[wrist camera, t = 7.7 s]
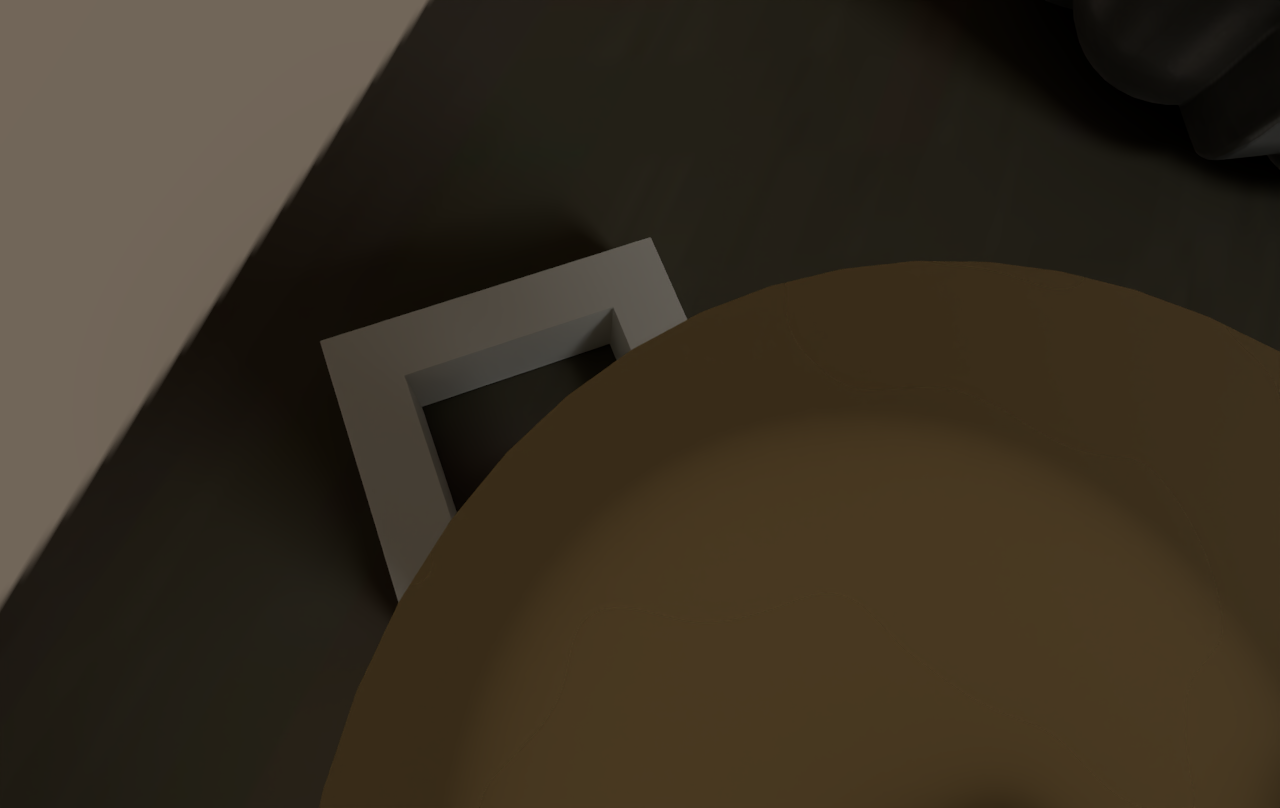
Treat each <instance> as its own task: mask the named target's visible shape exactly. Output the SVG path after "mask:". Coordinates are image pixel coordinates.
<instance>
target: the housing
mask: <svg viewBox="0 0 1280 808" xmlns="http://www.w3.org/2000/svg"><path fill="white" fill-rule="evenodd" d="M686 320H687V318H686V316H685V314H684V312H683V309H682V307H681V305H680V303H679V300H678V298H677V296H676V293H675V291H674V289H673V287H672V284H671V282H670V280H669V278H668V275H667V273H666V271H665V269H664V266H663V264H662V262H661V260H660V257H659V255H658V253H657V251H656V248H655V246H654V244H653V242H652V239H651V237H650V238H647V239H643V240H640V241H637V242H634V243H631V244H627V245H624V246H621V247H618V248H615V249H611V250H608V251H605V252H602V253H599V254H596V255H592V256H589V257H586V258H583V259H580V260H576V261H573V262H570V263H567V264H564V265H561V266H557V267H554V268H551V269H548V270H545V271H541V272H538V273H535V274H532V275H529V276H525V277H522V278H519V279H516V280H513V281H510V282H506V283H503V284H500V285H497V286H494V287H490V288H487V289H484V290H481V291H478V292H475V293H471V294H468V295H465V296H462V297H459V298H455V299H452V300H449V301H446V302H443V303H440V304H436V305H433V306H430V307H427V308H424V309H420V310H417V311H414V312H411V313H408V314H404V315H401V316H398V317H395V318H392V319H389V320H385V321H382V322H379V323H376V324H373V325H369V326H366V327H363V328H360V329H357V330H354V331H350V332H347V333H344V334H341V335H338V336H334V337H331V338H328V339H325V340H322V341H320V343H321V347H322V350H323V353H324V357H325V360H326V363H327V367H328V370H329V373H330V377H331V380H332V383H333V387H334V390H335V393H336V397H337V400H338V403H339V407H340V410H341V413H342V417H343V420H344V423H345V426H346V430H347V433H348V436H349V440H350V443H351V446H352V450H353V453H354V456H355V460H356V463H357V466H358V470H359V473H360V476H361V480H362V483H363V486H364V490H365V493H366V496H367V500H368V503H369V506H370V510H371V513H372V516H373V520H374V523H375V526H376V529H377V533H378V536H379V539H380V543H381V546H382V549H383V553H384V556H385V559H386V563H387V566H388V569H389V573H390V576H391V579H392V583H393V586H394V589H395V593H396V596H397V599H398V603H399V601H400V599H401V598H402V596H403V594H404V593H405V591H406V590H407V588H408V587H409V585H410V583H411V582H412V580H413V579H414V577H415V576H416V574H417V572H418V571H419V569H420V568H421V566H422V565H423V563H424V561H425V560H426V558H427V557H428V555H429V554H430V552H431V550H432V549H433V547H434V546H435V544H436V542H437V541H438V539H439V538H440V536H441V535H442V533H443V531H444V530H445V528H446V527H447V525H448V524H449V522H450V521H451V519H452V518H453V517H454V516H455V515H456V513H457V511H456V508H455V505H454V502H453V499H452V496H451V493H450V490H449V487H448V484H447V481H446V478H445V475H444V472H443V469H442V466H441V463H440V460H439V457H438V454H437V451H436V448H435V445H434V442H433V439H432V436H431V433H430V430H429V427H428V424H427V421H426V418H425V414H424V411H423V408H422V407H423V406H426V405H429V404H432V403H435V402H438V401H441V400H444V399H447V398H450V397H453V396H456V395H459V394H462V393H465V392H468V391H471V390H474V389H477V388H479V387H482V386H485V385H488V384H491V383H494V382H497V381H500V380H503V379H506V378H509V377H512V376H515V375H518V374H521V373H524V372H527V371H530V370H533V369H536V368H539V367H542V366H545V365H548V364H551V363H554V362H557V361H560V360H563V359H566V358H569V357H572V356H575V355H578V354H581V353H584V352H587V351H590V350H593V349H596V348H599V347H602V346H605V345H607V344H610V346H611V348H612V351H613V353H614V356H615V358H616V361H617V360H618V359H619V358H621V357H622V356H624V355H625V354H626V353H628V352H629V351H631V350H632V349H634V348H636V347H638V346H639V345H641V344H643V343H645V342H647V341H649V340H651V339H652V338H654V337H656V336H658V335H660V334H662V333H664V332H665V331H667V330H669V329H671V328H673V327H675V326H677V325H678V324H680V323H682V322H684V321H686Z"/></svg>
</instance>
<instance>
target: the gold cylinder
mask: <svg viewBox="0 0 1280 808" xmlns="http://www.w3.org/2000/svg"><path fill="white" fill-rule="evenodd" d="M319 808H1280V352H1279V351H1277V350H1275V349H1273V348H1271V347H1269V346H1267V345H1265V344H1263V343H1260V342H1258V341H1256V340H1254V339H1252V338H1250V337H1248V336H1246V335H1244V334H1242V333H1240V332H1238V331H1236V330H1234V329H1232V328H1230V327H1228V326H1226V325H1224V324H1222V323H1220V322H1218V321H1216V320H1214V319H1212V318H1210V317H1207V316H1205V315H1202V314H1199V313H1196V312H1194V311H1191V310H1188V309H1186V308H1183V307H1180V306H1177V305H1175V304H1172V303H1169V302H1166V301H1164V300H1161V299H1158V298H1156V297H1153V296H1150V295H1147V294H1145V293H1142V292H1139V291H1137V290H1133V289H1129V288H1125V287H1121V286H1117V285H1113V284H1109V283H1105V282H1101V281H1097V280H1093V279H1089V278H1085V277H1081V276H1077V275H1073V274H1069V273H1065V272H1060V271H1053V270H1045V269H1037V268H1030V267H1022V266H1014V265H1007V264H999V263H991V262H945V261H911V262H902V263H893V264H884V265H874V266H865V267H856V268H847V269H840V270H836V271H832V272H827V273H823V274H819V275H815V276H811V277H807V278H802V279H798V280H794V281H790V282H786V283H782V284H777V285H773V286H769V287H767V288H764V289H761V290H759V291H756V292H754V293H751V294H748V295H746V296H743V297H740V298H738V299H735V300H733V301H730V302H727V303H725V304H722V305H719V306H717V307H714V308H712V309H709V310H706V311H704V312H701V313H699V314H697V315H695V316H693V317H691V318H690V319H688V320H686V321H684V322H682V323H680V324H678V325H677V326H675V327H673V328H671V329H669V330H667V331H665V332H664V333H662V334H660V335H658V336H656V337H654V338H652V339H651V340H649V341H647V342H645V343H643V344H641V345H639V346H638V347H636V348H634V349H632V350H631V351H629V352H628V353H626V354H625V355H624V356H622V357H621V358H619V359H618V360H617V361H615V362H614V363H612V364H611V365H610V366H608V367H607V368H606V369H604V370H603V371H601V372H600V373H599V374H597V375H596V376H594V377H593V378H592V379H590V380H589V381H587V382H586V383H585V384H583V385H582V386H581V387H579V388H578V389H576V390H575V391H574V392H572V393H571V394H569V395H568V396H567V397H566V398H565V399H564V400H563V401H561V402H560V403H559V404H558V405H557V406H556V407H555V408H554V409H553V410H552V411H551V412H550V413H549V414H548V415H546V416H545V417H544V418H543V419H542V420H541V421H540V422H539V423H538V424H537V425H536V426H535V427H534V428H533V429H532V430H530V431H529V432H528V433H527V434H526V435H525V436H524V437H523V438H522V439H521V440H520V441H519V442H518V443H517V444H516V445H514V446H513V447H512V448H511V449H510V450H509V451H508V452H507V453H506V454H505V455H504V457H503V458H502V459H501V460H500V461H499V463H498V464H497V465H496V466H495V467H494V469H493V470H492V471H491V472H490V473H489V475H488V476H487V477H486V478H485V479H484V481H483V482H482V483H481V484H480V486H479V487H478V488H477V489H476V490H475V492H474V493H473V494H472V495H471V496H470V498H469V499H468V500H467V501H466V502H465V504H464V505H463V506H462V507H461V509H460V510H459V511H458V512H457V513H456V515H455V516H454V517H453V518H452V519H451V521H450V522H449V524H448V525H447V527H446V528H445V530H444V531H443V533H442V535H441V536H440V538H439V539H438V541H437V542H436V544H435V546H434V547H433V549H432V550H431V552H430V554H429V555H428V557H427V558H426V560H425V561H424V563H423V565H422V566H421V568H420V569H419V571H418V572H417V574H416V576H415V577H414V579H413V580H412V582H411V583H410V585H409V587H408V588H407V590H406V591H405V593H404V594H403V596H402V598H401V599H400V601H399V603H398V605H397V607H396V609H395V611H394V614H393V616H392V618H391V620H390V622H389V624H388V626H387V628H386V630H385V632H384V635H383V637H382V639H381V641H380V643H379V645H378V647H377V649H376V651H375V653H374V655H373V658H372V660H371V662H370V664H369V666H368V668H367V670H366V672H365V674H364V676H363V679H362V681H361V683H360V685H359V687H358V689H357V692H356V695H355V697H354V700H353V703H352V706H351V709H350V712H349V715H348V718H347V721H346V724H345V727H344V730H343V733H342V736H341V739H340V742H339V745H338V748H337V751H336V754H335V757H334V760H333V763H332V766H331V769H330V772H329V774H328V777H327V780H326V783H325V786H324V789H323V793H322V797H321V802H320V807H319Z"/></svg>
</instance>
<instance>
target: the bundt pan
mask: <svg viewBox="0 0 1280 808" xmlns="http://www.w3.org/2000/svg"><path fill="white" fill-rule="evenodd" d="M1045 1H1047V2H1050V3H1052V4H1055V5H1058V6H1062V7H1065V8H1069V9H1073V19H1074V23H1075V28H1076V32H1077V36H1078V40H1079V43H1080V45H1081V48H1082V50H1083V52H1084V54H1085V56H1086V58H1087V59H1088V61H1089V62H1090V64H1091V65H1092V67H1093V68H1094V69H1095V70H1096V71H1097V72H1098V73H1099V75H1100V76H1101V77H1102V78H1103V79H1104V80H1105V81H1106V82H1108V83H1109V84H1111V85H1112V86H1113V87H1115V88H1116V89H1118V90H1120V91H1122V92H1124V93H1126V94H1128V95H1129V96H1131V97H1133V98H1137V99H1140V100H1144V101H1148V102H1151V103H1158V104H1165V105H1179V108H1180V111H1181V114H1182V117H1183V120H1184V123H1185V125H1186V128H1187V131H1188V134H1189V136H1190V139H1191V142H1192V144H1193V147H1194V150H1195V152H1196V153H1197V154H1198V155H1199V156H1201V157H1203V158H1205V159H1207V160H1224V159H1234V158H1243V157H1253V156H1263V155H1267V156H1268V158H1269V159H1270V160H1271V161H1272V162H1273V163H1274V164H1275V165H1276V166H1277V167H1278V168H1279V170H1280V0H1045Z"/></svg>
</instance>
